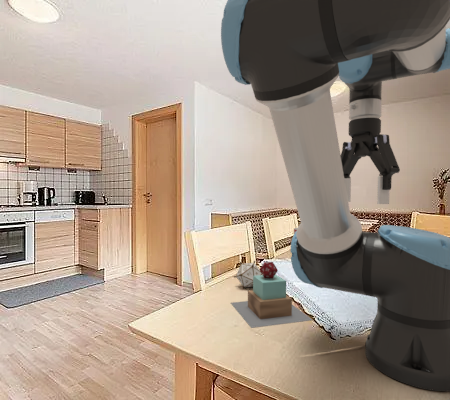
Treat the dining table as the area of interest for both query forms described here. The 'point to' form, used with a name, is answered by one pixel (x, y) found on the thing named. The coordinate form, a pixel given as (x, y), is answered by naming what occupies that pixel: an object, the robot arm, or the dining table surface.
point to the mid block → (269, 287)
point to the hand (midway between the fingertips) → (362, 202)
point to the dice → (268, 270)
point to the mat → (256, 322)
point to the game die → (247, 274)
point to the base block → (269, 306)
